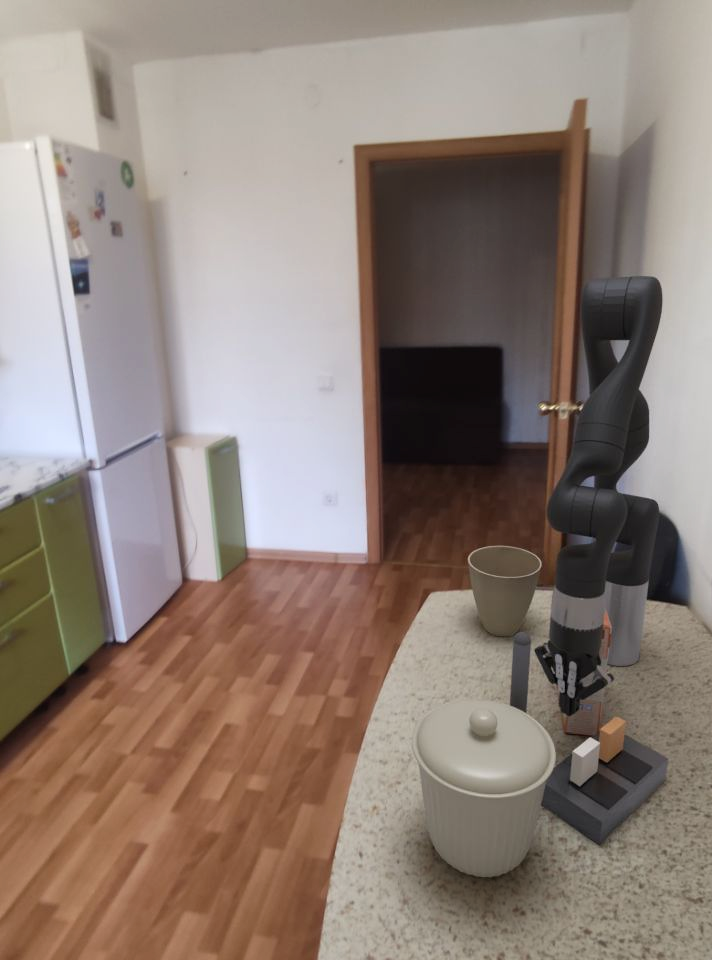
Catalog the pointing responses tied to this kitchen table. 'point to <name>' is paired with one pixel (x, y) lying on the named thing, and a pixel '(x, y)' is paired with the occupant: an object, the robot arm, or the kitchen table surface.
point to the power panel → (605, 789)
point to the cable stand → (520, 671)
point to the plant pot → (503, 586)
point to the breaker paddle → (611, 738)
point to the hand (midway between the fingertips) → (568, 712)
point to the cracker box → (591, 707)
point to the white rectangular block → (584, 761)
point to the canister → (482, 782)
